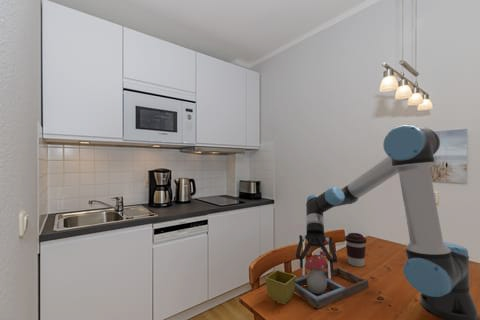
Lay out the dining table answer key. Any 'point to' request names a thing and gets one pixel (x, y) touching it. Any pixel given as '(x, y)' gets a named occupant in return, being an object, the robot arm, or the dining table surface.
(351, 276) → the gray organizer
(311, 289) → the decorative ornament
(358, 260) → the coffee cup
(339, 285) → the slate-blue rim
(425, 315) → the dining table surface
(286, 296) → the flower pot
